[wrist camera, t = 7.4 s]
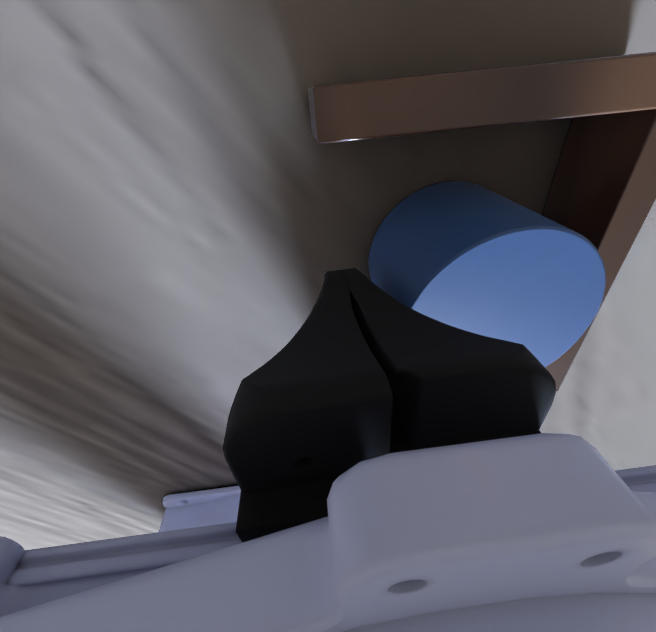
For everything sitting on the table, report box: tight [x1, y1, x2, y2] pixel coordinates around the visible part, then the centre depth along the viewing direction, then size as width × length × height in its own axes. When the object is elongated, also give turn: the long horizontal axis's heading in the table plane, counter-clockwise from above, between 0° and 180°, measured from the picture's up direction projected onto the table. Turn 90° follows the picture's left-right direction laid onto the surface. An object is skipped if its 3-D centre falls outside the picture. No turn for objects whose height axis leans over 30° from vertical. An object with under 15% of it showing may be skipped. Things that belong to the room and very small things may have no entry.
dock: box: [308, 52, 656, 391], centre depth 12 cm, size 10×12×3 cm
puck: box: [368, 181, 606, 367], centre depth 11 cm, size 6×6×5 cm
